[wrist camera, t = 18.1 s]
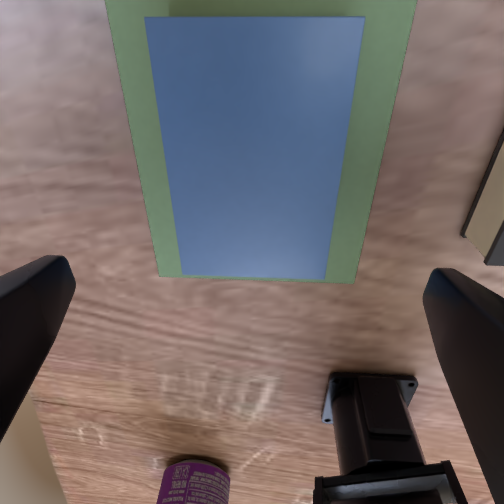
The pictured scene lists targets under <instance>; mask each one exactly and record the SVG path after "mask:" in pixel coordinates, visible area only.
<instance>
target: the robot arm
mask: <svg viewBox="0 0 504 504" xmlns="http://www.w3.org/2000/svg"><path fill="white" fill-rule="evenodd" d="M75 288H76V282H75V278H74V276H73V273H72V271H71V268H70V265H69V263H68V260H67V259H66V258H65V257H64V256H60V255H46V256H44V257H41V258H39V259H37V260H35V261H33V262H31V263H28V264H26V265H24V266H22V267H20V268H17V269H15V270H13V271H11V272H9V273H6V274H4V275H2V276H0V443H1V441H2V439H3V437H4V435H5V433H6V431H7V430H8V428H9V426H10V424H11V422H12V420H13V418H14V416H15V415H16V413H17V411H18V409H19V407H20V405H21V403H22V402H23V400H24V398H25V396H26V394H27V392H28V390H29V388H30V387H31V385H32V383H33V381H34V379H35V377H36V375H37V374H38V372H39V370H40V368H41V366H42V364H43V362H44V360H45V359H46V357H47V355H48V353H49V351H50V349H51V347H52V345H53V343H54V341H55V339H56V336H57V334H58V332H59V329H60V327H61V324H62V322H63V319H64V317H65V314H66V312H67V309H68V307H69V304H70V302H71V299H72V297H73V294H74V292H75ZM423 305H424V309H425V313H426V316H427V320H428V324H429V328H430V331H431V335H432V339H433V343H434V346H435V350H436V353H437V357H438V360H439V363H440V365H441V368H442V371H443V373H444V376H445V378H446V381H447V383H448V386H449V388H450V391H451V393H452V396H453V399H454V401H455V404H456V406H457V409H458V411H459V414H460V416H461V419H462V421H463V424H464V426H465V429H466V431H467V434H468V436H469V439H470V441H471V444H472V446H473V449H474V452H475V454H476V457H477V459H478V462H479V464H480V467H481V469H482V472H483V474H484V477H485V479H486V482H487V484H488V487H489V489H490V492H491V494H492V497H493V499H494V502H495V504H504V298H503V297H501V296H499V295H498V294H496V293H494V292H493V291H491V290H489V289H488V288H486V287H484V286H482V285H481V284H479V283H477V282H476V281H474V280H472V279H470V278H469V277H467V276H465V275H464V274H462V273H460V272H459V271H457V270H455V269H452V268H436V269H434V270H433V271H432V273H431V275H430V277H429V280H428V283H427V285H426V288H425V291H424V293H423ZM417 386H418V381H417V379H416V377H414V376H401V375H381V374H360V373H340V372H335V373H332V374H331V375H330V377H329V381H328V386H327V391H326V395H325V400H324V405H323V409H322V414H321V418H322V422H323V423H326V424H333V426H334V433H335V440H336V447H337V454H338V461H339V468H340V476H332V477H323V476H320V477H315V489H314V490H313V504H449V503H453V504H468V502H467V500H466V498H465V495H464V493H463V491H462V488H461V486H460V483H459V481H458V479H457V476H456V474H455V472H454V469H453V467H452V465H451V462H450V460H446V461H441V463H436V464H428V465H427V464H426V461H425V458H424V455H423V452H422V449H421V446H420V443H419V440H418V437H417V434H416V432H415V429H414V426H413V423H412V420H411V417H410V414H409V411H408V406H409V404H410V401H411V399H412V397H413V395H414V393H415V391H416V389H417Z"/></svg>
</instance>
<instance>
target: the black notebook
mask: <svg viewBox="0 0 504 504" xmlns="http://www.w3.org/2000/svg"><path fill="white" fill-rule="evenodd" d="M460 235H461V236H462V237H463V238H468V239H469V240H470V241H471V243H472V244H473V245H474V246H475V247H476V248H477V249H478V250H479V252H480V253H481V254H482V255H483V256H484V257H485V260H484V263H485V264H486V265H493V266H504V130H503V132H502V135H501V137H500V140H499V142H498V144H497V147H496V149H495V152H494V154H493V157H492V159H491V161H490V164H489V166H488V169H487V171H486V174H485V176H484V178H483V181H482V183H481V186H480V188H479V191H478V193H477V195H476V198H475V200H474V203H473V205H472V208H471V210H470V212H469V215H468V217H467V220H466V222H465V225H464V227H463V229H462V232H461V234H460Z"/></svg>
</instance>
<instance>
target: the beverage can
mask: <svg viewBox="0 0 504 504" xmlns="http://www.w3.org/2000/svg"><path fill="white" fill-rule="evenodd" d="M229 489H230V478H229V476H228V475H227V473H225V472H224V471H223V470H221V469H220V468H219V467H218V466H216V465H215V464H213V463H210V462H207V461H203V460H195V459H191V460H184V461H181V462H179V463H176V464H173V465H171V466H169V467H167V468H166V470H165V471H164V475H163V479H162V483H161V487H160V491H159V495H158V499H157V503H156V504H228V499H229Z"/></svg>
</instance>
